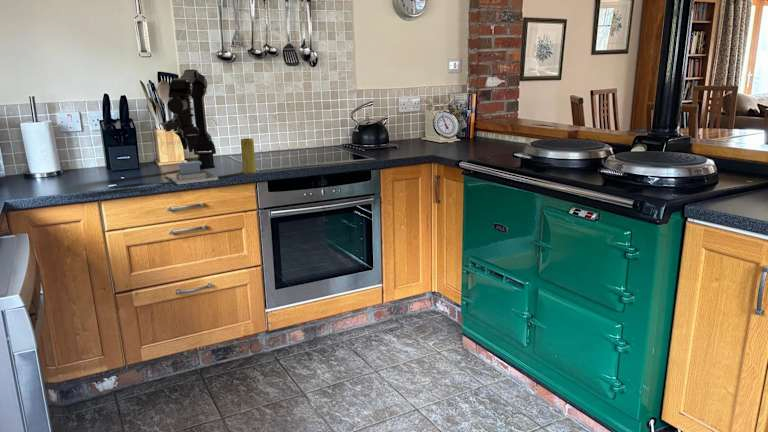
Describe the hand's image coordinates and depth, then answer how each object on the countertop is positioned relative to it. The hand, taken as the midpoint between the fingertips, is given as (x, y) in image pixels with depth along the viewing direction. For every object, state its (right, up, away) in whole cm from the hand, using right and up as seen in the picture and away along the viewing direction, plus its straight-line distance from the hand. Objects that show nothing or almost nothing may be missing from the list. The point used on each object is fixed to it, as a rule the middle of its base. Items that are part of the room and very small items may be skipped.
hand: (187, 150), depth 230 cm
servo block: (0, -11, +2) cm, 11 cm away
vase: (+21, -8, +16) cm, 28 cm away
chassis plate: (0, -11, +6) cm, 12 cm away
